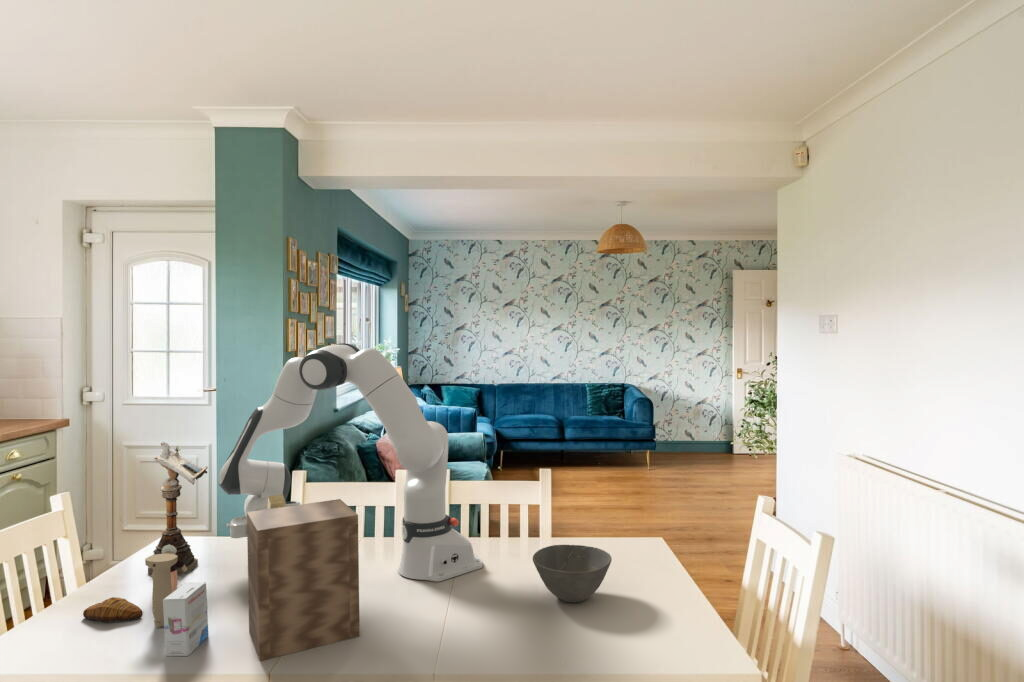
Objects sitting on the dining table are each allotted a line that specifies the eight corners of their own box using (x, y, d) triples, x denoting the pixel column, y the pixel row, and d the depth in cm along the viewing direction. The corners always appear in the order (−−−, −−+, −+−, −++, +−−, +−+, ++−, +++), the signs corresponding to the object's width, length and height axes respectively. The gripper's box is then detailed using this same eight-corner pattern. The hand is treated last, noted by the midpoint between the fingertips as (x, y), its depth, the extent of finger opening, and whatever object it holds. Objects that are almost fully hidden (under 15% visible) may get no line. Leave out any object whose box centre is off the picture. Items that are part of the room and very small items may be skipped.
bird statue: (223, 557, 185) (221, 434, 183) (207, 575, 172) (204, 443, 170) (161, 559, 183) (158, 435, 181) (140, 578, 170) (137, 444, 168)
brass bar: (282, 494, 166) (285, 502, 163) (278, 566, 174) (280, 575, 171) (268, 496, 164) (270, 504, 161) (264, 569, 172) (266, 578, 169)
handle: (169, 630, 141) (167, 562, 140) (142, 629, 142) (140, 560, 141) (183, 620, 146) (181, 554, 145) (157, 618, 147) (155, 553, 146)
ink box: (186, 635, 139) (184, 580, 138) (209, 636, 139) (208, 581, 138) (163, 656, 130) (162, 598, 130) (188, 656, 130) (186, 598, 130)
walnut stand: (341, 610, 150) (340, 498, 150) (359, 636, 138) (358, 514, 137) (249, 631, 140) (246, 512, 140) (259, 661, 128) (257, 530, 127)
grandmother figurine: (154, 603, 155) (153, 550, 154) (150, 598, 158) (149, 546, 157) (189, 594, 160) (188, 543, 159) (185, 589, 163) (183, 539, 162)
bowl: (620, 589, 162) (620, 549, 161) (597, 621, 145) (597, 577, 144) (550, 576, 170) (550, 538, 169) (520, 606, 152) (520, 563, 152)
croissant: (73, 625, 144) (72, 603, 144) (94, 611, 151) (94, 590, 151) (131, 627, 143) (130, 604, 143) (150, 613, 150) (150, 591, 150)
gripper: (225, 511, 172) (232, 525, 160) (304, 500, 182) (316, 513, 170) (225, 534, 172) (232, 551, 160) (305, 522, 182) (317, 537, 170)
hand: (276, 531), depth 165 cm, fingers open, 4 cm apart
